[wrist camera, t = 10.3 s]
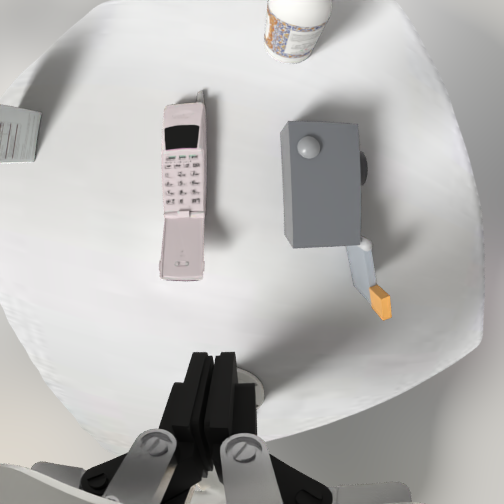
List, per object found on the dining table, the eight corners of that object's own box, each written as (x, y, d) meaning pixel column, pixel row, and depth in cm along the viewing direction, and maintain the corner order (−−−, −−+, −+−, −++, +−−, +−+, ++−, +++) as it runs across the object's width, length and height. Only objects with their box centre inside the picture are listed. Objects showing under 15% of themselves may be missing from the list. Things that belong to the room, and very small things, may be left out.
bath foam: (266, 25, 31) (277, -65, 11) (312, 33, 31) (352, -49, 11) (260, 61, 32) (268, -26, 13) (309, 69, 33) (354, -8, 13)
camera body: (350, 231, 39) (374, 245, 30) (284, 234, 39) (293, 249, 30) (348, 134, 35) (373, 124, 27) (280, 133, 35) (288, 120, 27)
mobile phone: (159, 281, 34) (155, 84, 28) (170, 267, 40) (167, 96, 34) (204, 282, 34) (203, 79, 28) (210, 267, 40) (209, 93, 34)
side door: (349, 226, 38) (383, 244, 27) (360, 283, 41) (392, 317, 30) (340, 229, 38) (372, 248, 28) (352, 286, 41) (382, 321, 30)
